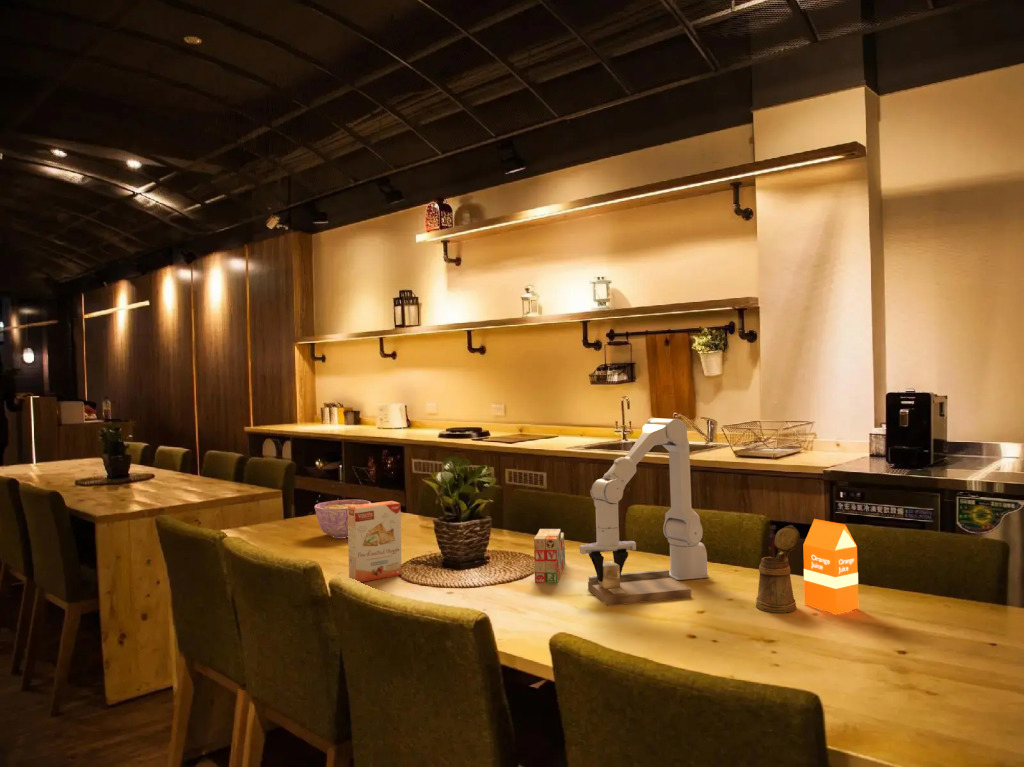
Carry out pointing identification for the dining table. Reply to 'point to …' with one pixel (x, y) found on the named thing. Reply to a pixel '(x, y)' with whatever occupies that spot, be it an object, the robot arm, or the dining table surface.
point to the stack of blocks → (549, 555)
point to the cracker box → (374, 540)
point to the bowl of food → (335, 516)
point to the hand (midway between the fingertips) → (608, 579)
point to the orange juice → (830, 568)
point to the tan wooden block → (610, 575)
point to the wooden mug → (778, 575)
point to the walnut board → (640, 588)
